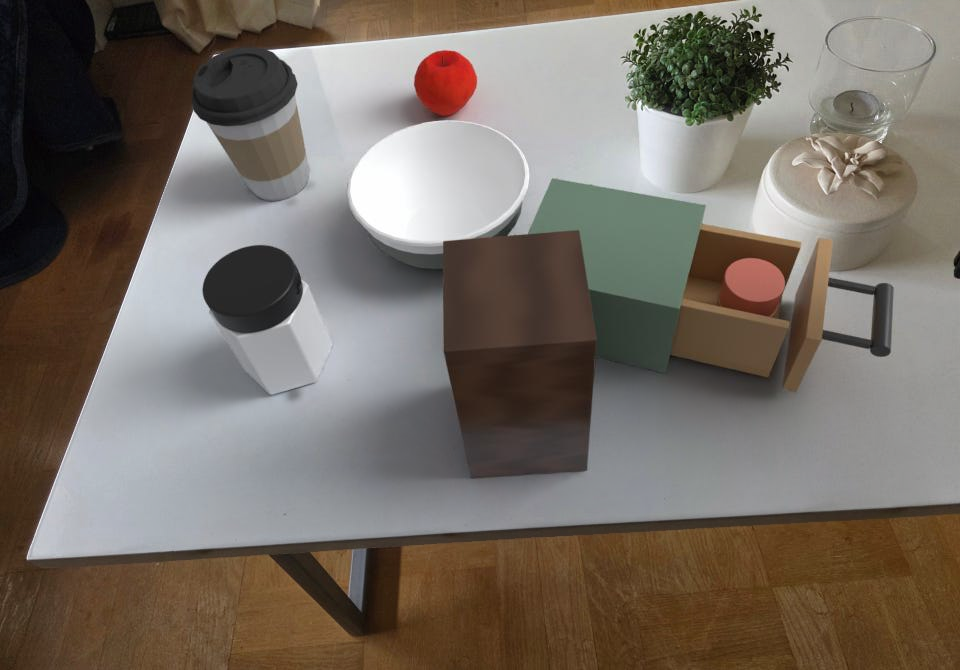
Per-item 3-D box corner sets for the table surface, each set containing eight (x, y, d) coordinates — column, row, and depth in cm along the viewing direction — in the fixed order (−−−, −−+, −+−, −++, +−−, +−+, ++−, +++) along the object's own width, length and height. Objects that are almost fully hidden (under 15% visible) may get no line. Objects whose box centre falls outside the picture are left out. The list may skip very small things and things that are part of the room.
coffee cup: (252, 148, 92) (206, 40, 80) (337, 151, 91) (304, 41, 79) (219, 211, 86) (164, 103, 74) (311, 216, 84) (269, 106, 72)
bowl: (531, 297, 74) (529, 241, 68) (351, 301, 76) (332, 246, 69) (531, 174, 85) (529, 115, 79) (374, 179, 87) (359, 122, 80)
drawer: (873, 309, 69) (904, 252, 62) (866, 409, 63) (900, 357, 56) (667, 268, 74) (677, 212, 68) (642, 356, 68) (651, 304, 61)
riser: (574, 373, 68) (579, 229, 53) (587, 470, 62) (597, 339, 47) (468, 381, 69) (442, 240, 54) (470, 478, 63) (443, 351, 48)
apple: (472, 130, 91) (466, 78, 85) (411, 126, 92) (401, 75, 87) (485, 91, 96) (480, 39, 90) (426, 88, 97) (418, 37, 91)
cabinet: (690, 274, 74) (706, 204, 67) (665, 373, 67) (679, 308, 60) (552, 246, 78) (552, 177, 70) (515, 337, 71) (510, 272, 64)
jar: (349, 355, 72) (317, 275, 62) (284, 410, 69) (240, 334, 59) (294, 310, 76) (256, 228, 66) (230, 359, 73) (180, 280, 63)
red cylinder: (773, 306, 68) (789, 263, 64) (766, 349, 66) (782, 308, 61) (716, 294, 70) (728, 251, 65) (707, 336, 67) (718, 295, 62)
